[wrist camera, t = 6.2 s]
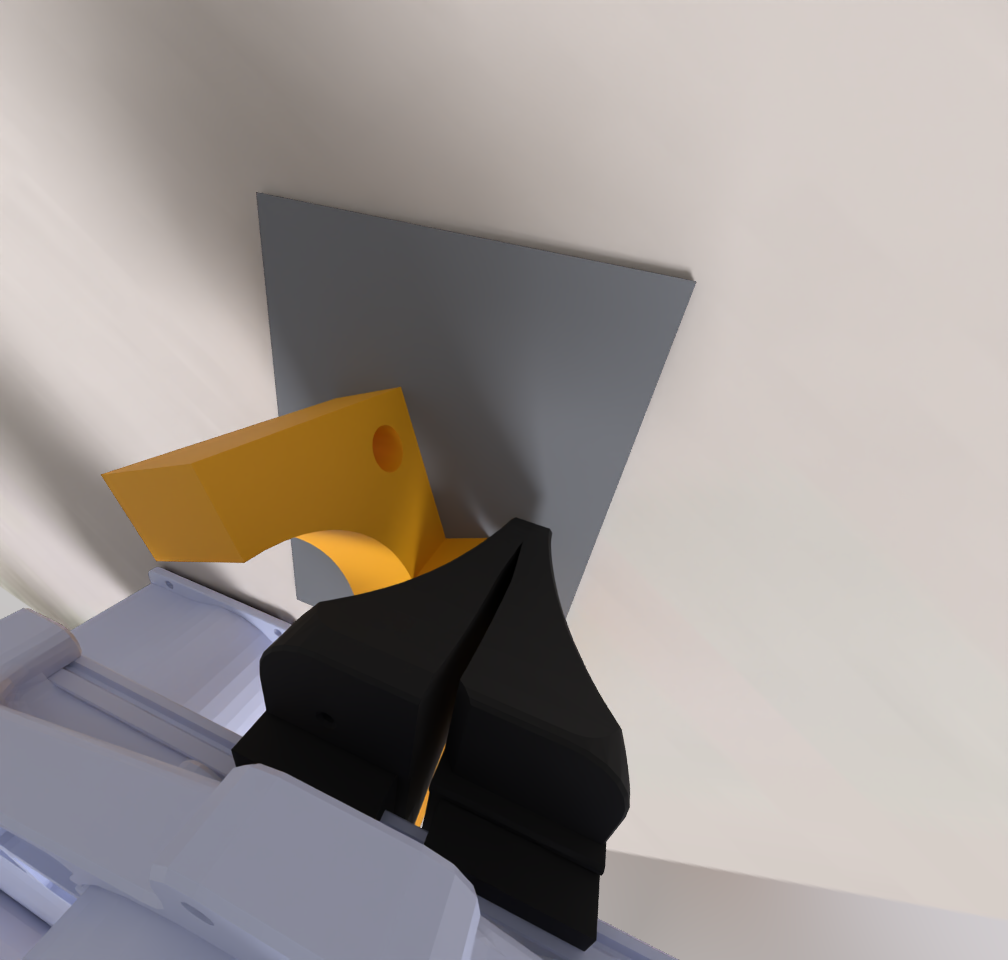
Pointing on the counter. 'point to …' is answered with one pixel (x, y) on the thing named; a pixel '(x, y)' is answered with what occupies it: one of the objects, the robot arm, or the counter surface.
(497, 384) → the mat
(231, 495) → the pipe clamp
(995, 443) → the counter surface
